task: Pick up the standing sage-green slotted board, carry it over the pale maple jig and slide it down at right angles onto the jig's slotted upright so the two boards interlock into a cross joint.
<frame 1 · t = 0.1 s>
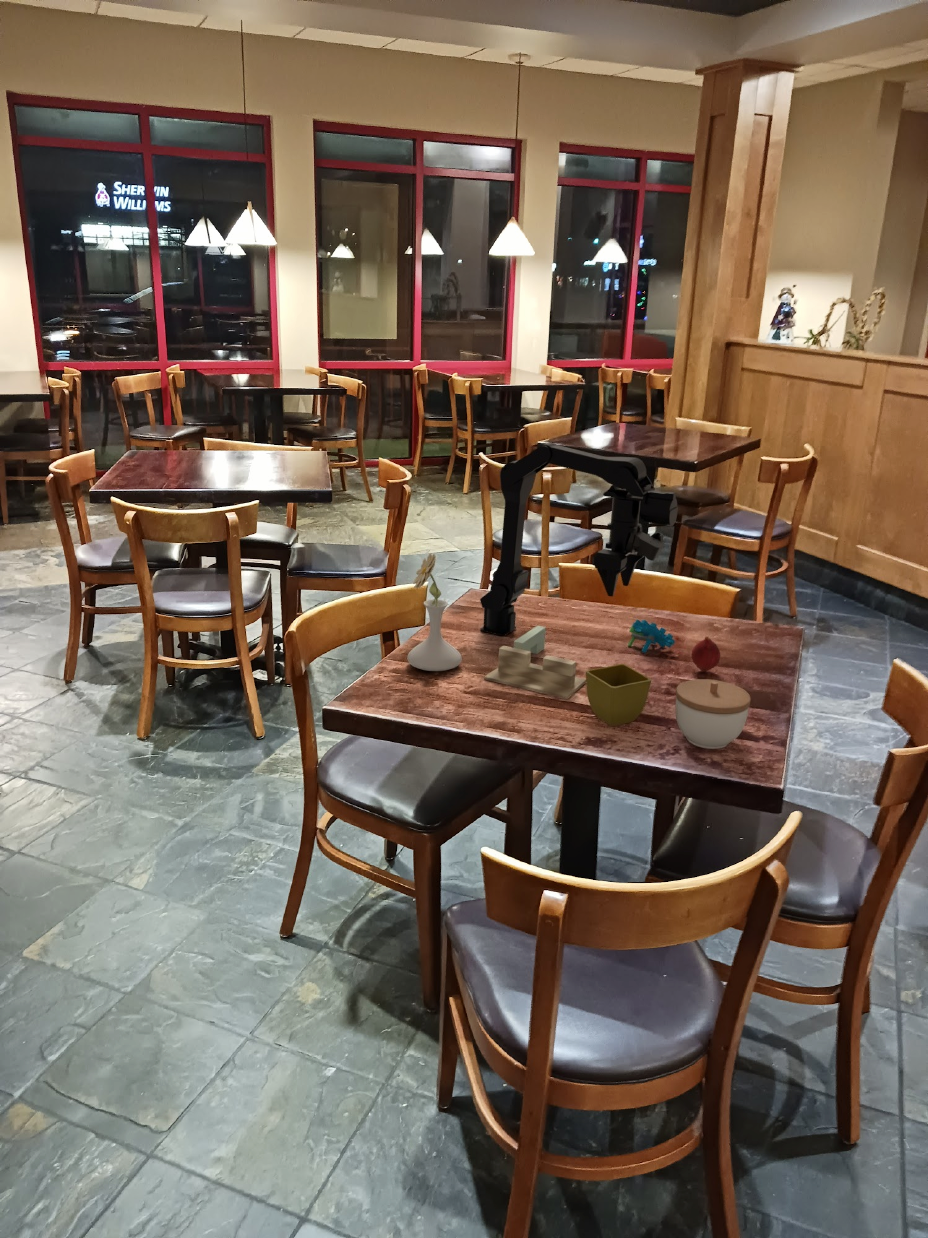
hand: (618, 590, 196), 15 cm above the table, fingers open, 9 cm apart
sage board: (528, 655, 199), on the table
flower in vase: (433, 668, 191), on the table
maple jig: (535, 680, 186), on the table
onion: (703, 672, 193), on the table
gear: (649, 649, 205), on the table
lidded bowl: (707, 741, 163), on the table
flower pot: (614, 720, 169), on the table
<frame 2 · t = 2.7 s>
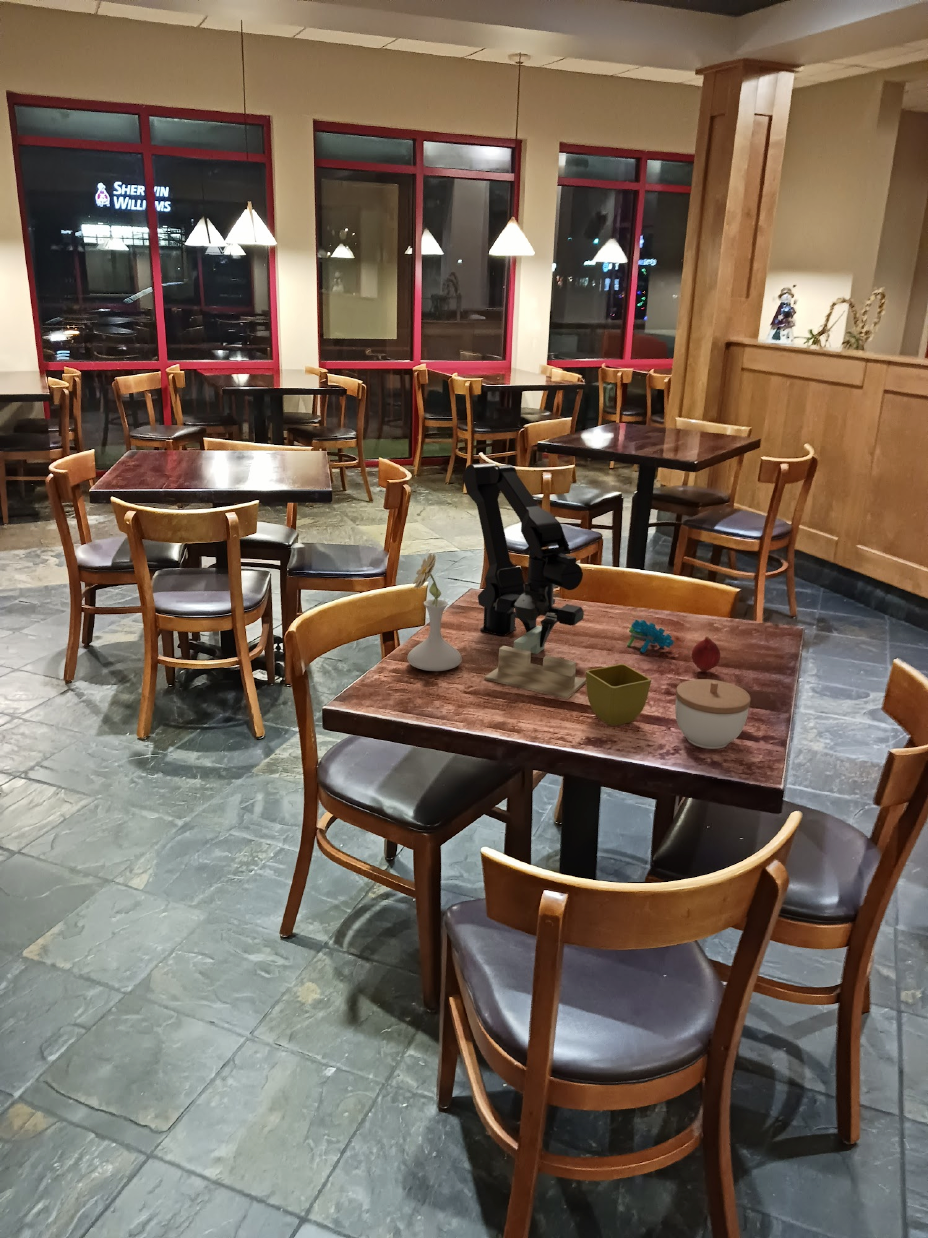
hand: (536, 645, 202), 1 cm above the table, fingers closed on sage board, 2 cm apart
sage board: (528, 655, 199), on the table, touching gripper
everything else where it was.
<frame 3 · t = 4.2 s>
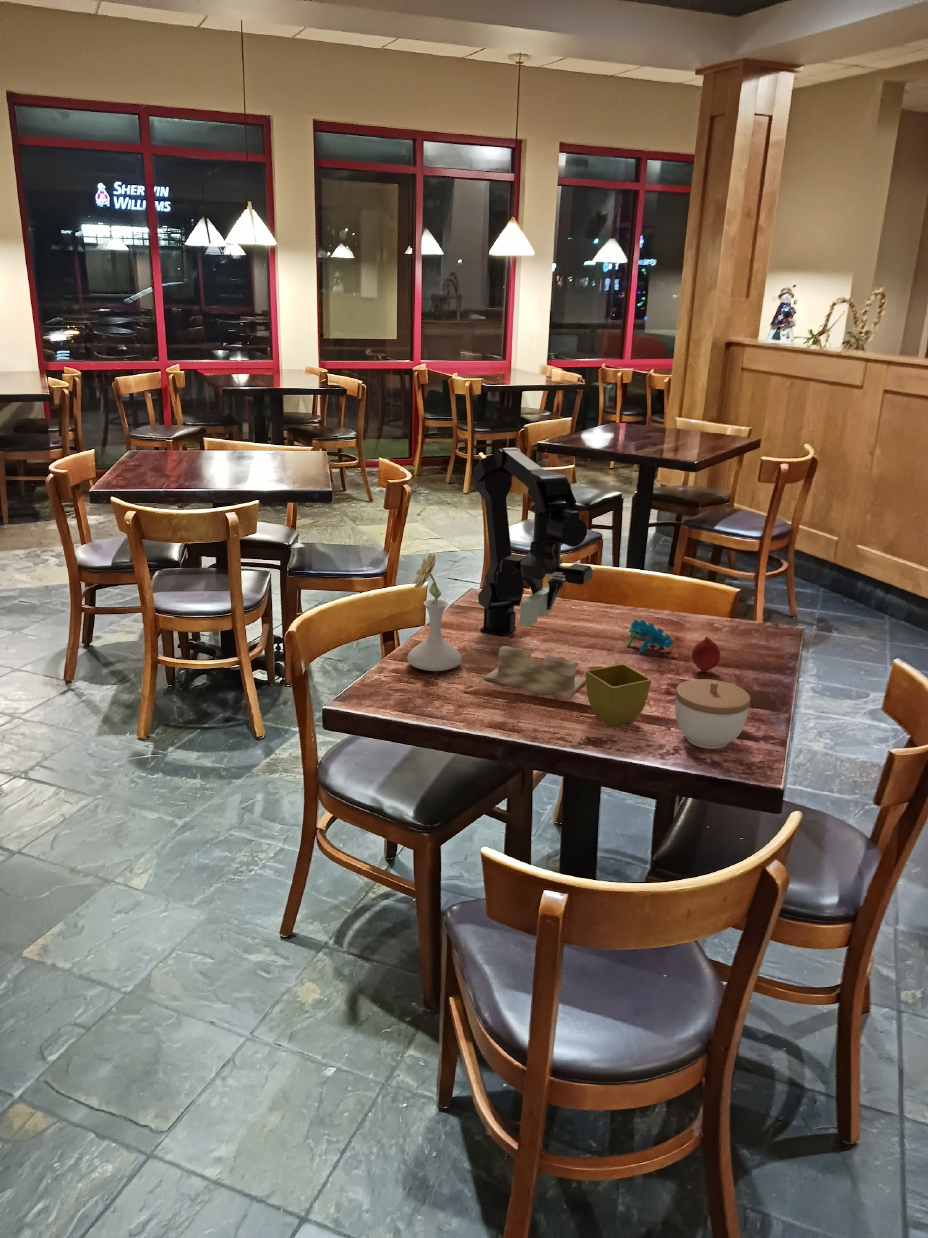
hand: (543, 608, 193), 11 cm above the table, fingers closed on sage board
sage board: (536, 618, 190), point 10 cm above the table, touching gripper
everything else where it was.
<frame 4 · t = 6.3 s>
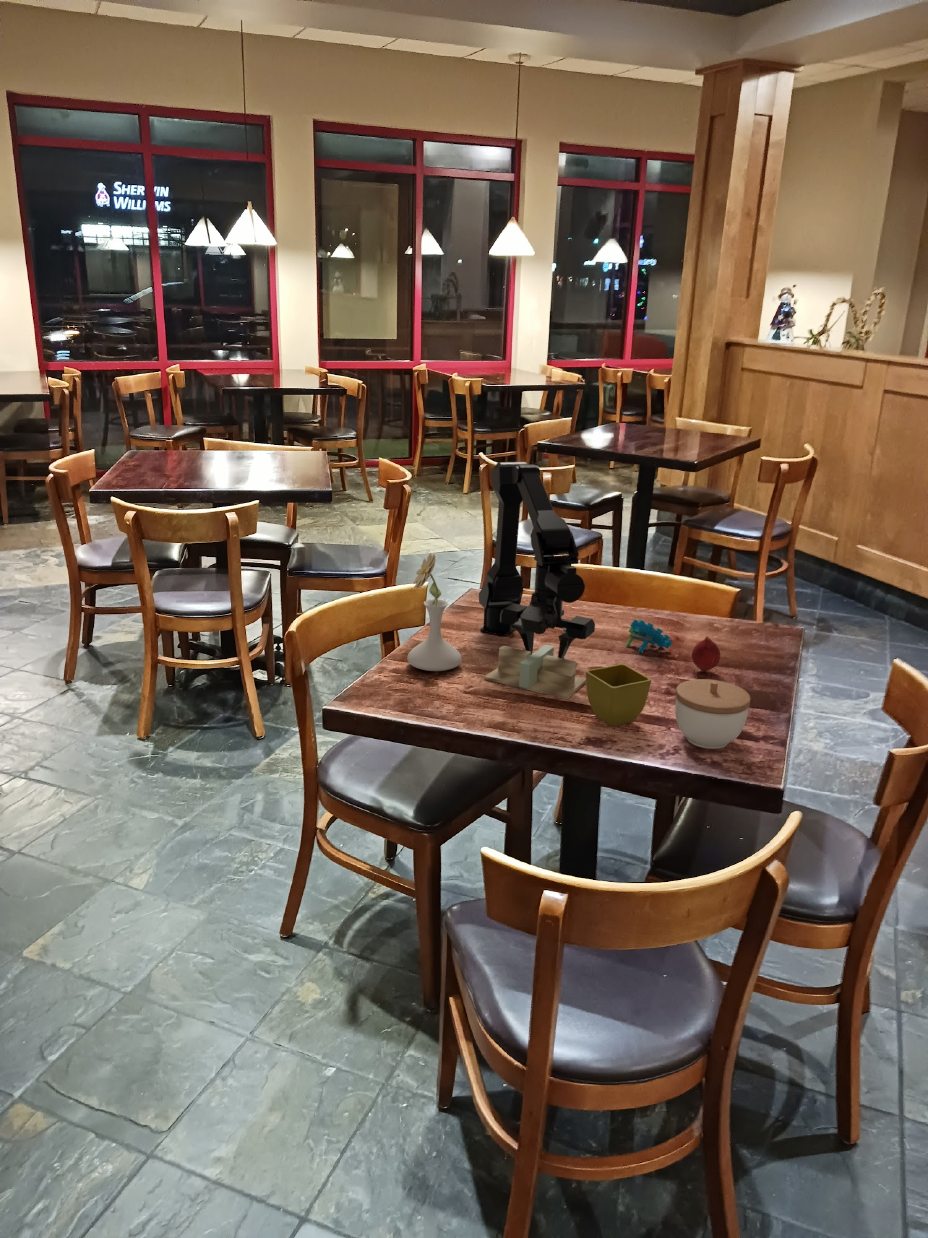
hand: (544, 660, 188), 3 cm above the table, fingers open, 6 cm apart
sage board: (536, 677, 186), point 1 cm above the table, touching maple jig
everything else where it was.
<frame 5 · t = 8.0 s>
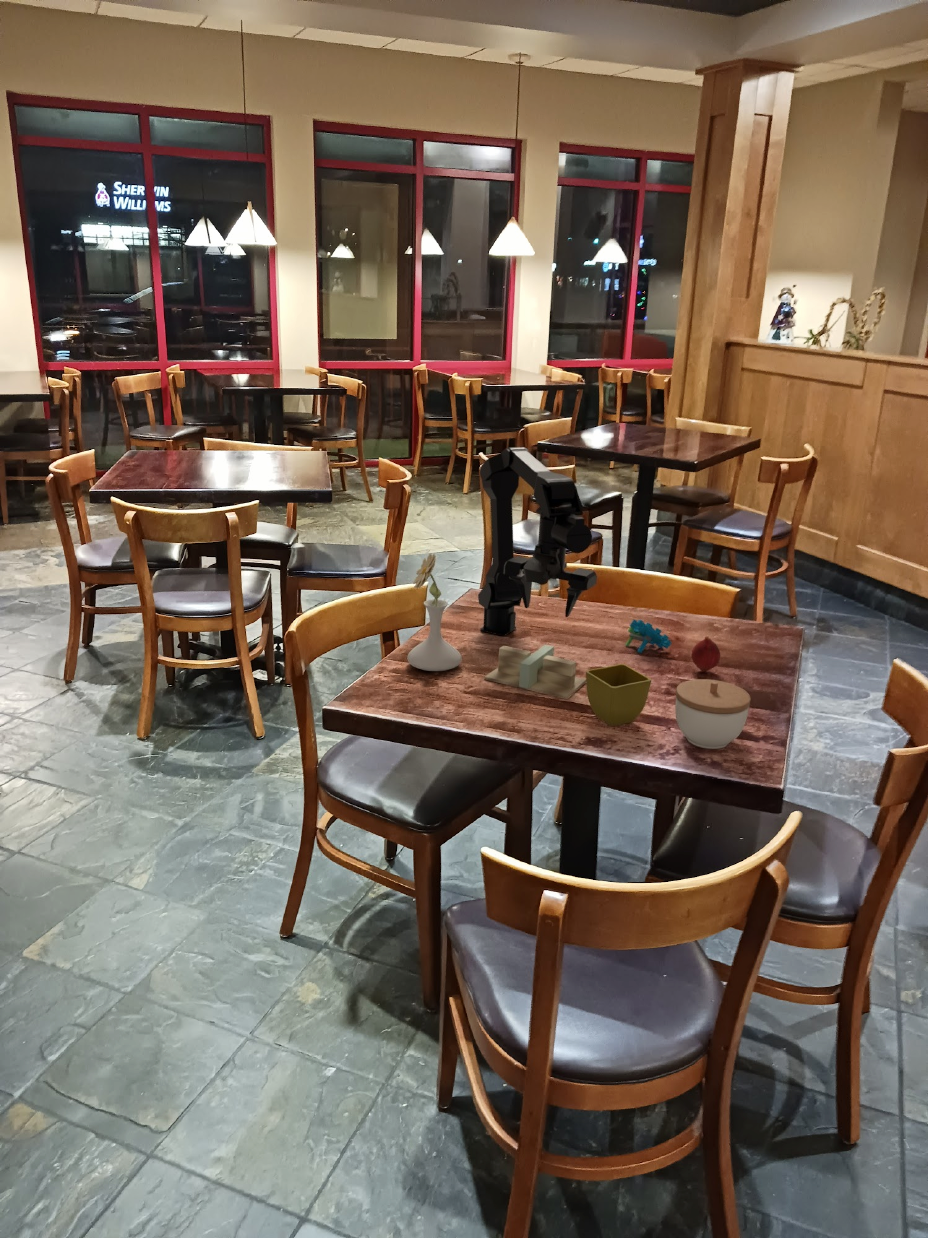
hand: (546, 612, 191), 11 cm above the table, fingers open, 9 cm apart
nothing on the table moved.
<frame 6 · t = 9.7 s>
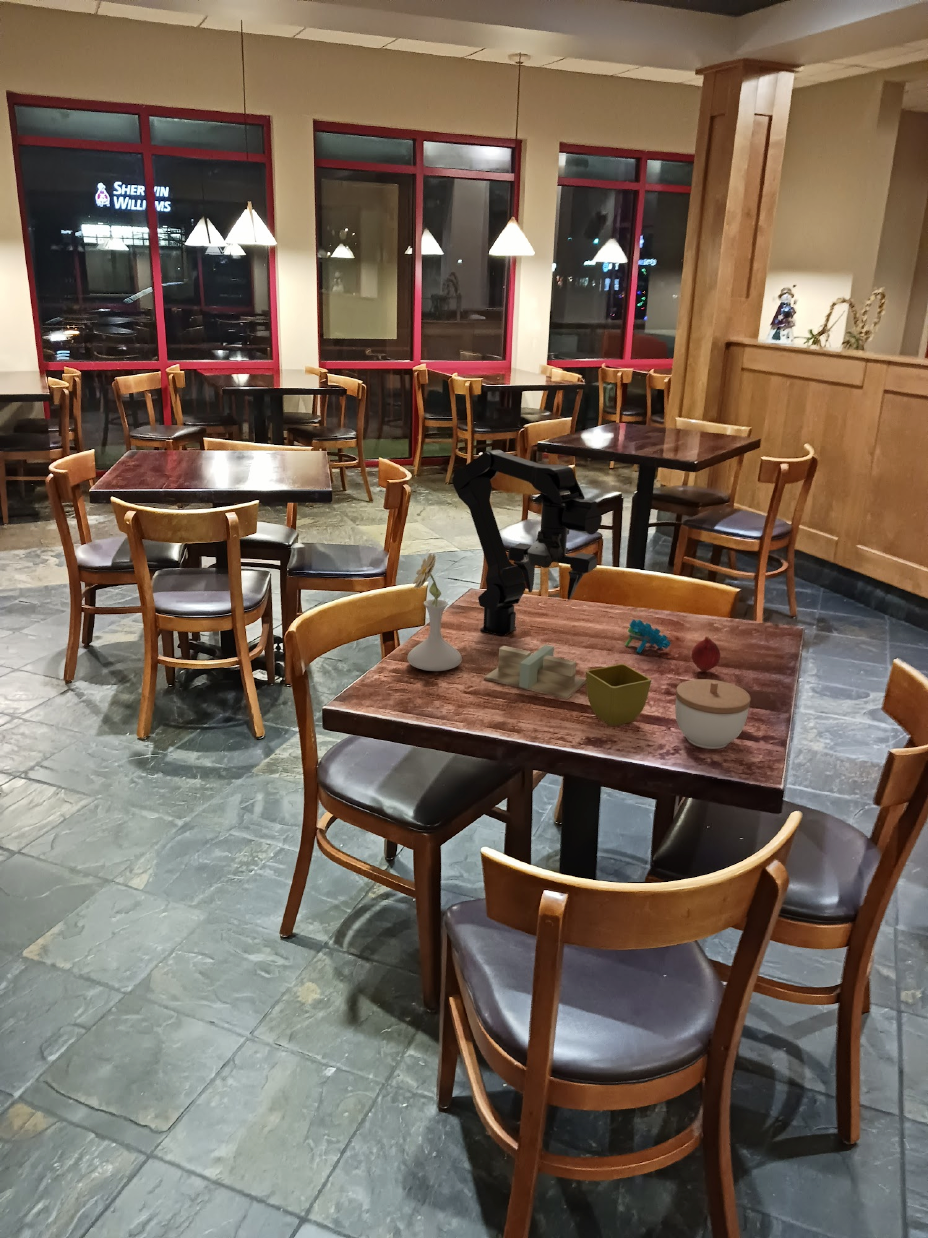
hand: (549, 595, 200), 12 cm above the table, fingers open, 9 cm apart
at the end: sage board 0.2 cm off-centre on the maple jig, point 0.6 cm above the maple jig's base; sage board tilted 0°; the gripper is holding nothing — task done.
